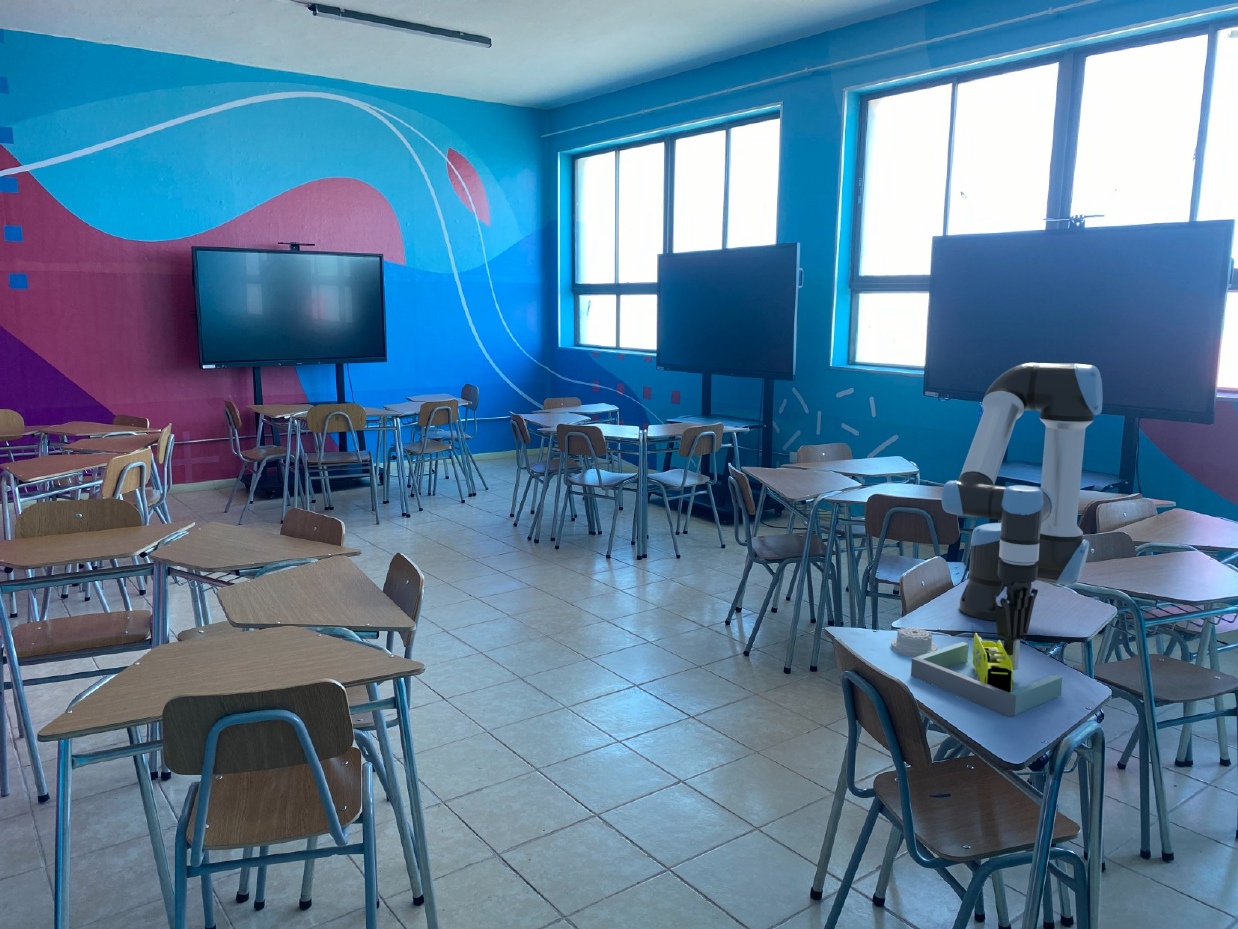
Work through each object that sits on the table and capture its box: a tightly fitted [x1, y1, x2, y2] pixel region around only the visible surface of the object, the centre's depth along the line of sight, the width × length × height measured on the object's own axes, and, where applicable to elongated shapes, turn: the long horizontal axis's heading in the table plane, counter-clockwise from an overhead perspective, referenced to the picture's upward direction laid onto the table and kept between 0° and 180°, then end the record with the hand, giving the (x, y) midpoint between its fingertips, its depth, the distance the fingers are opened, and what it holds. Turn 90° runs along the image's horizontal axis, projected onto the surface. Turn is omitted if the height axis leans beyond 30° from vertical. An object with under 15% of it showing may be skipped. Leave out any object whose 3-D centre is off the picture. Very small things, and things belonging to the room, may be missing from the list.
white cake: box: [890, 626, 938, 658], centre depth 200 cm, size 10×4×10 cm
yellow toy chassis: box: [972, 632, 1014, 693], centre depth 181 cm, size 16×6×8 cm, turn 167°
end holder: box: [910, 641, 1064, 718], centre depth 180 cm, size 18×23×4 cm
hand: (1010, 667), depth 184 cm, fingers closed
